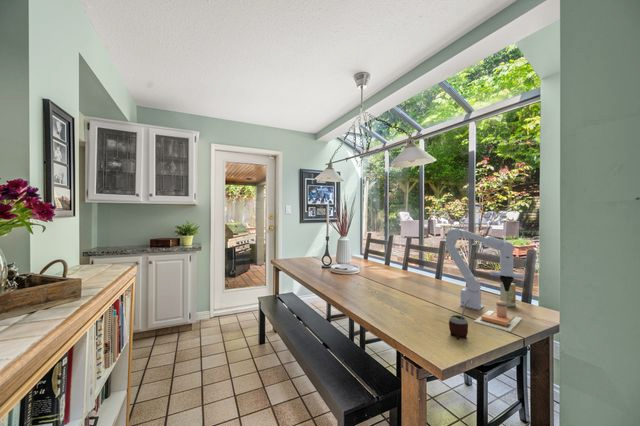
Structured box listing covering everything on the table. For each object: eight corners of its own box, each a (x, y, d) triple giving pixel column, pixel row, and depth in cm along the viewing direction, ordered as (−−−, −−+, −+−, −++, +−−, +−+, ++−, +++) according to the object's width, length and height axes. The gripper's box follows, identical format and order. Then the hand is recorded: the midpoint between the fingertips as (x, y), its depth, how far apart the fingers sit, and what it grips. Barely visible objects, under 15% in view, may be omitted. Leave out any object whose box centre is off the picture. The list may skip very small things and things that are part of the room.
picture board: (474, 322, 124) (474, 320, 124) (488, 311, 137) (488, 310, 137) (510, 332, 114) (510, 330, 114) (522, 319, 127) (522, 317, 127)
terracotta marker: (495, 316, 129) (495, 302, 129) (498, 314, 132) (498, 300, 132) (505, 318, 126) (505, 304, 126) (508, 316, 129) (507, 302, 129)
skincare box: (507, 307, 143) (507, 284, 143) (499, 304, 147) (499, 282, 147) (516, 305, 145) (516, 283, 145) (508, 303, 149) (508, 281, 149)
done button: (481, 319, 125) (481, 316, 125) (484, 317, 127) (484, 314, 127) (506, 326, 117) (506, 322, 117) (509, 323, 120) (509, 320, 120)
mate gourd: (448, 337, 109) (447, 301, 109) (450, 330, 116) (450, 296, 116) (468, 342, 105) (468, 304, 105) (470, 334, 112) (469, 299, 112)
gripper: (488, 263, 141) (488, 289, 141) (521, 267, 130) (522, 295, 130) (492, 262, 145) (493, 286, 145) (525, 265, 135) (525, 292, 134)
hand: (507, 290), depth 138 cm, fingers closed
